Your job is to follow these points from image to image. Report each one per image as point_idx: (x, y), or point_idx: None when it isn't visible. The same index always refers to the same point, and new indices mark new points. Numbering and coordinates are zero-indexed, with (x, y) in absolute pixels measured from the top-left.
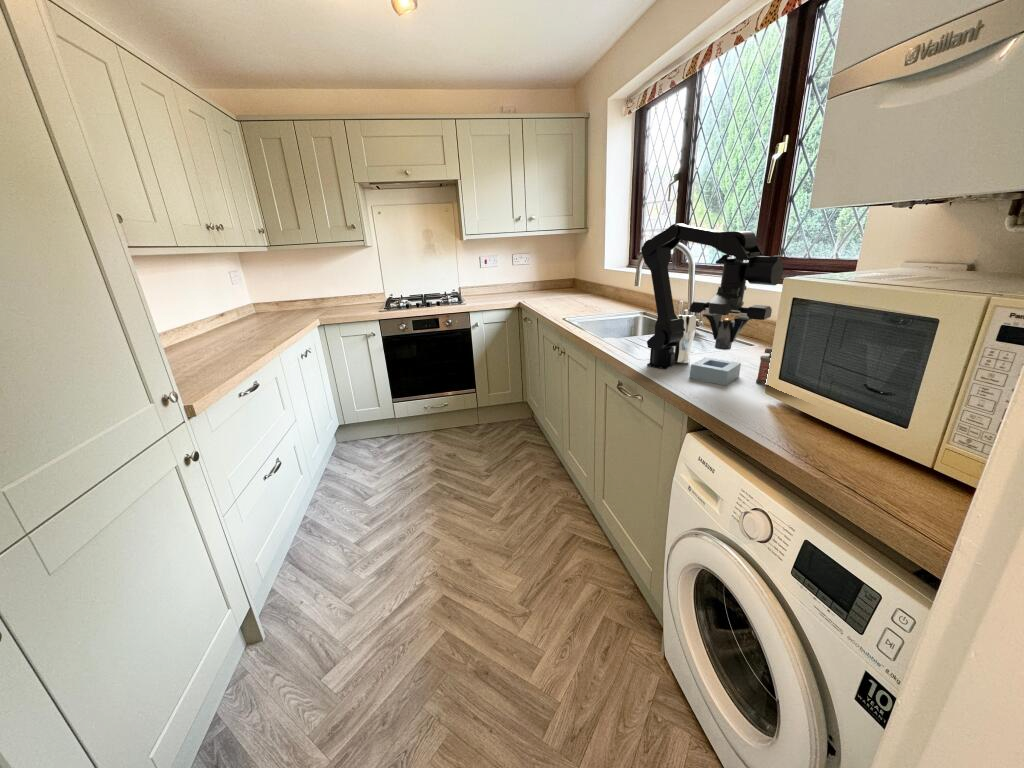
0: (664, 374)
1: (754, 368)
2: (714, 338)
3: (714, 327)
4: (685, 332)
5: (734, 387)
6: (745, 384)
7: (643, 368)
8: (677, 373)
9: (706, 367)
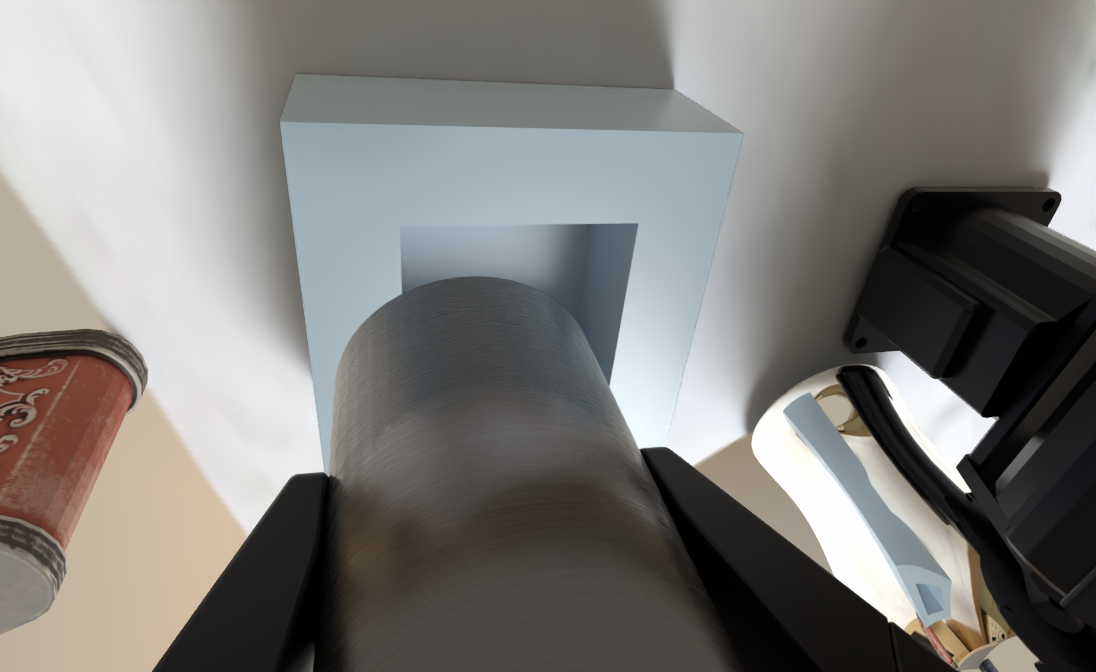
0: (901, 45)
1: None
2: (669, 454)
3: (839, 654)
4: (999, 626)
5: (193, 68)
6: (170, 237)
7: (1080, 104)
8: (794, 155)
9: (561, 128)
